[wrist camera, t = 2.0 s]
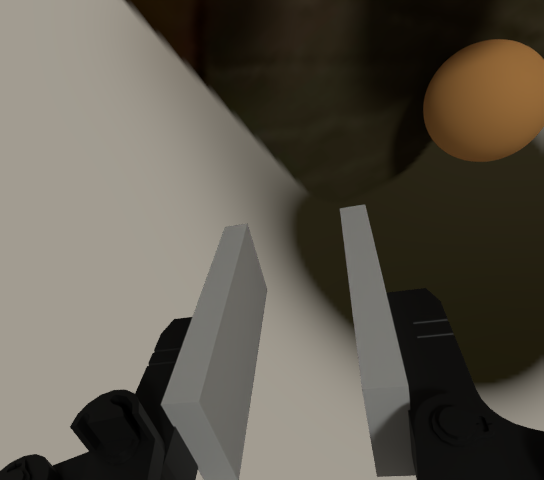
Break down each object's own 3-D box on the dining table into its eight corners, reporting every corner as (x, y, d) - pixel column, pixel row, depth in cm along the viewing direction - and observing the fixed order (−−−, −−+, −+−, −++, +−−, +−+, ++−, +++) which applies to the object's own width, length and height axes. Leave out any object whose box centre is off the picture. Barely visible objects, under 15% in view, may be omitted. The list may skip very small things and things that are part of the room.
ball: (392, 86, 24) (414, 113, 19) (489, 7, 21) (544, 13, 16) (446, 159, 26) (479, 202, 21) (541, 94, 23) (603, 125, 18)
